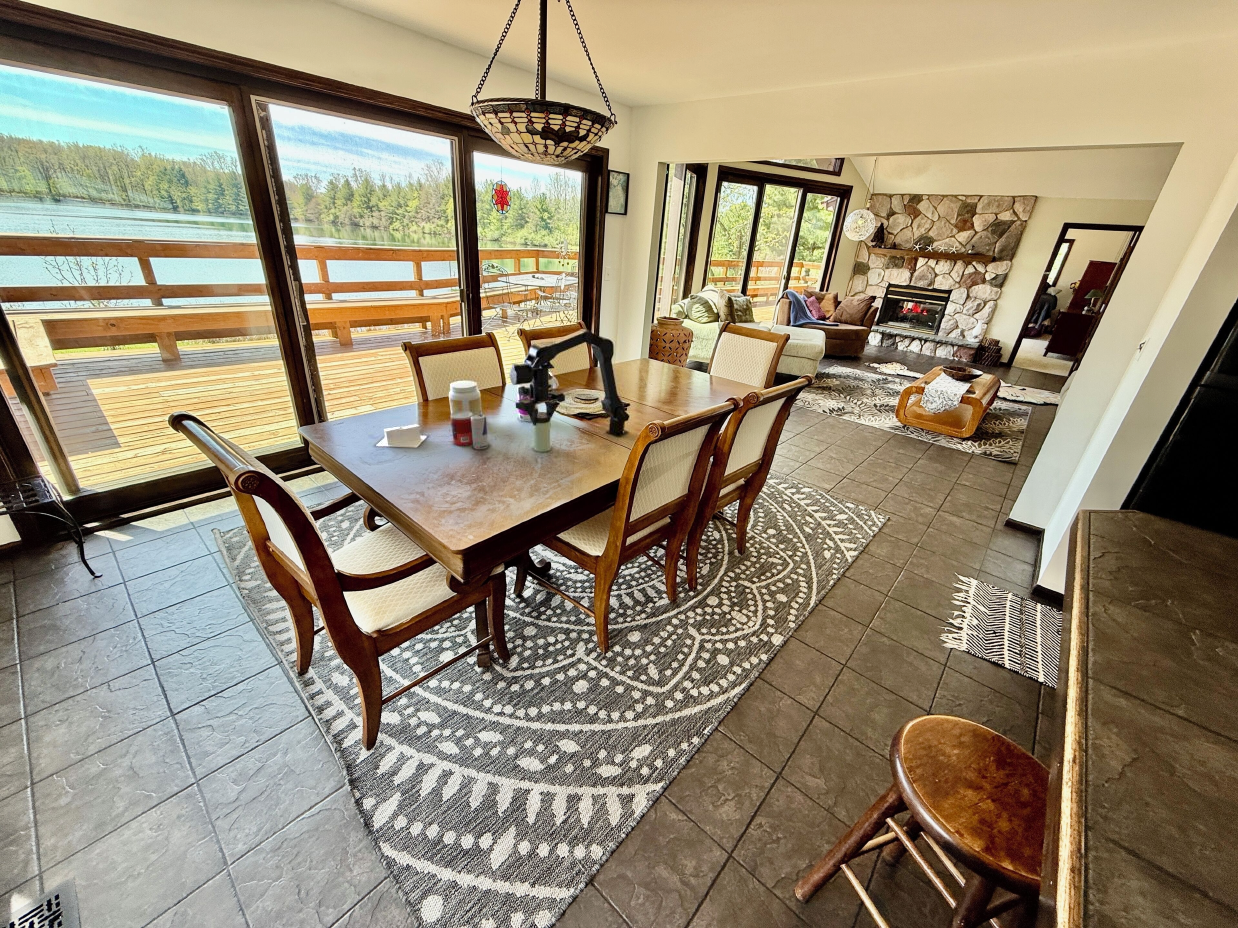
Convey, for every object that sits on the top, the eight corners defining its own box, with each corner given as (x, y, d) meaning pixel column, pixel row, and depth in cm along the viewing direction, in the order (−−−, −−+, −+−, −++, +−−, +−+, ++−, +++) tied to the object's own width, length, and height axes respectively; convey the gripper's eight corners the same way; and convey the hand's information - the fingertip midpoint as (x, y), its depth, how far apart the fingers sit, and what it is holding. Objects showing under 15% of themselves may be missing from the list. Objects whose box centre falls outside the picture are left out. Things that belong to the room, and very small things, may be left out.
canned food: (479, 440, 182) (477, 413, 178) (465, 447, 176) (462, 419, 171) (463, 436, 185) (461, 409, 181) (449, 443, 179) (445, 415, 174)
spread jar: (531, 392, 240) (530, 369, 235) (538, 386, 251) (537, 364, 246) (554, 394, 239) (553, 371, 234) (560, 388, 249) (560, 366, 244)
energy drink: (491, 445, 179) (489, 415, 174) (483, 450, 174) (480, 419, 169) (478, 443, 180) (476, 412, 175) (470, 448, 176) (467, 417, 171)
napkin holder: (427, 435, 184) (425, 421, 182) (417, 447, 174) (415, 432, 172) (387, 434, 184) (385, 420, 181) (375, 446, 173) (372, 431, 171)
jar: (541, 443, 182) (540, 412, 177) (554, 448, 179) (553, 416, 174) (530, 448, 178) (529, 416, 172) (542, 453, 175) (541, 420, 169)
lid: (530, 417, 175) (530, 412, 175) (548, 416, 178) (548, 411, 177) (534, 423, 170) (533, 418, 169) (552, 422, 172) (552, 417, 171)
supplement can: (534, 423, 202) (533, 388, 195) (515, 420, 203) (514, 386, 197) (541, 416, 209) (540, 383, 203) (523, 414, 210) (521, 381, 204)
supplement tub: (482, 418, 204) (478, 379, 197) (484, 428, 194) (480, 387, 187) (451, 420, 201) (447, 380, 193) (452, 430, 190) (447, 389, 183)
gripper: (545, 372, 179) (546, 412, 185) (504, 381, 166) (506, 423, 172) (566, 378, 172) (566, 419, 179) (525, 388, 159) (527, 432, 166)
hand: (541, 423), depth 174 cm, fingers closed on lid, 6 cm apart
